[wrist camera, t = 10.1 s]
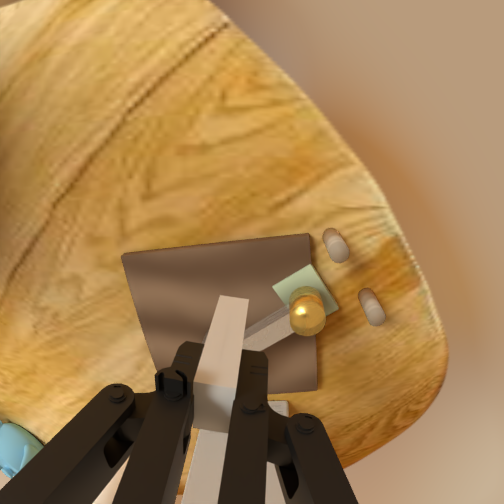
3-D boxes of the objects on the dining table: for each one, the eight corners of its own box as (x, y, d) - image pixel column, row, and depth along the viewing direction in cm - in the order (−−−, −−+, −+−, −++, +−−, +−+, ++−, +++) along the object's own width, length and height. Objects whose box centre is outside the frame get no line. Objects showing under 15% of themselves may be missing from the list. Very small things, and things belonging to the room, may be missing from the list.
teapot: (-6, 403, 41) (-33, 435, 31) (52, 439, 41) (27, 479, 32) (12, 442, 46) (-9, 471, 36) (66, 474, 46) (47, 508, 37)
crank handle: (222, 366, 29) (215, 393, 26) (194, 337, 28) (184, 363, 25) (330, 306, 26) (337, 330, 23) (304, 269, 25) (308, 291, 22)
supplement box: (217, 444, 35) (195, 545, 21) (206, 397, 32) (173, 515, 18) (289, 446, 35) (287, 551, 20) (290, 399, 32) (289, 524, 18)
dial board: (124, 250, 27) (102, 267, 24) (373, 224, 25) (388, 238, 21) (168, 389, 33) (157, 414, 29) (367, 378, 30) (375, 405, 26)
